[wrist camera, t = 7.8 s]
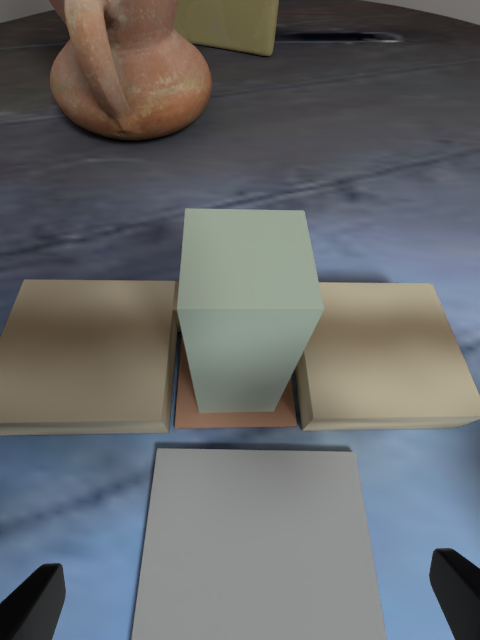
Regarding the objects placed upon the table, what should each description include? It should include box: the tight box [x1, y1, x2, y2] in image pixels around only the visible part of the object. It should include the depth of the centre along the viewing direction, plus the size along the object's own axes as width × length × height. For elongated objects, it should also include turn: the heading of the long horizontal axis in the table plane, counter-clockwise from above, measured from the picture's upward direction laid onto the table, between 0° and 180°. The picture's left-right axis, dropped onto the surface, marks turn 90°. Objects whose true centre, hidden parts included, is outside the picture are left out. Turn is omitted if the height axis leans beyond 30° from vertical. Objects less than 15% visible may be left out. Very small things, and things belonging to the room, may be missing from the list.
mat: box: [131, 448, 387, 640], centre depth 14 cm, size 10×10×1 cm
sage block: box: [177, 209, 324, 413], centre depth 14 cm, size 4×4×10 cm
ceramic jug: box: [49, 0, 212, 140], centre depth 26 cm, size 18×14×14 cm
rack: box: [0, 279, 480, 436], centre depth 18 cm, size 8×24×2 cm, turn 91°
